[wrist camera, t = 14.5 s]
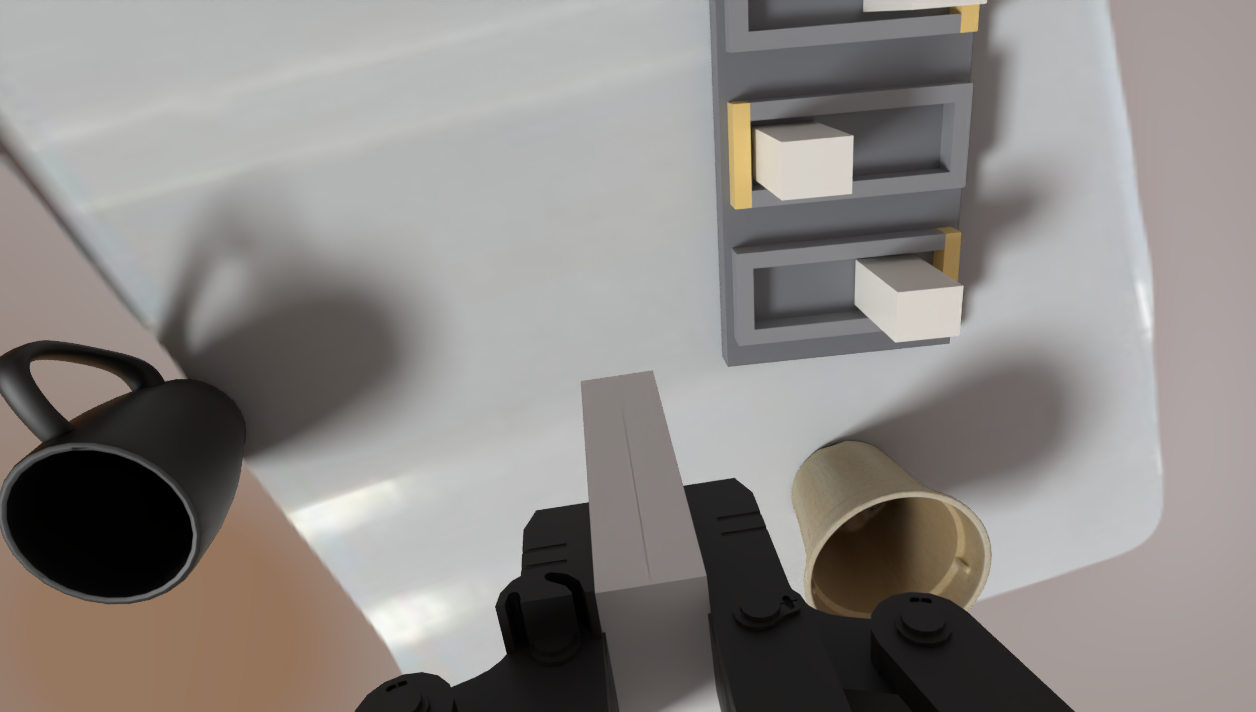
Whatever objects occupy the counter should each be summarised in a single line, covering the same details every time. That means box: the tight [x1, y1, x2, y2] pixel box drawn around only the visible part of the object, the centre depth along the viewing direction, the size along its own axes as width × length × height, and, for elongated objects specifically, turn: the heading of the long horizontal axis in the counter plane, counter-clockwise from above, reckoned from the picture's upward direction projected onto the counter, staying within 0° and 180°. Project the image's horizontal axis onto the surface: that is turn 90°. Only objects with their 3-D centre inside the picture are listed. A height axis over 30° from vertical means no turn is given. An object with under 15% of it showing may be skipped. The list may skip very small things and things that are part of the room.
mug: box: [0, 340, 246, 604], centre depth 38 cm, size 8×12×10 cm
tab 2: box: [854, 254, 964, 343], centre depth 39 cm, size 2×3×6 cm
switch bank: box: [709, 0, 980, 367], centre depth 39 cm, size 22×12×3 cm, turn 4°
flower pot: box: [792, 441, 991, 619], centre depth 44 cm, size 9×9×9 cm
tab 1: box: [752, 121, 854, 201], centre depth 37 cm, size 2×3×6 cm
